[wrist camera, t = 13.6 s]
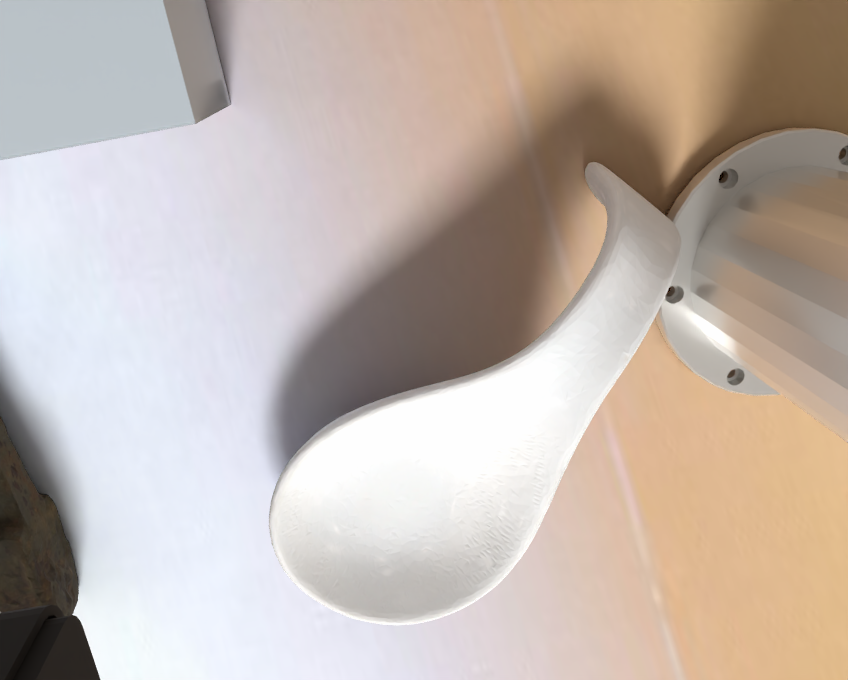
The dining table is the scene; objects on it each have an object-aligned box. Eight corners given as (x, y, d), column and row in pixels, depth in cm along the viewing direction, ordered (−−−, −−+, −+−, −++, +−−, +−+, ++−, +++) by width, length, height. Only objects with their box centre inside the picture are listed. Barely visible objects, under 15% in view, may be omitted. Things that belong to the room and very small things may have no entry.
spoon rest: (421, 617, 42) (441, 723, 35) (227, 516, 39) (207, 612, 32) (714, 255, 37) (800, 297, 31) (521, 103, 34) (571, 114, 27)
